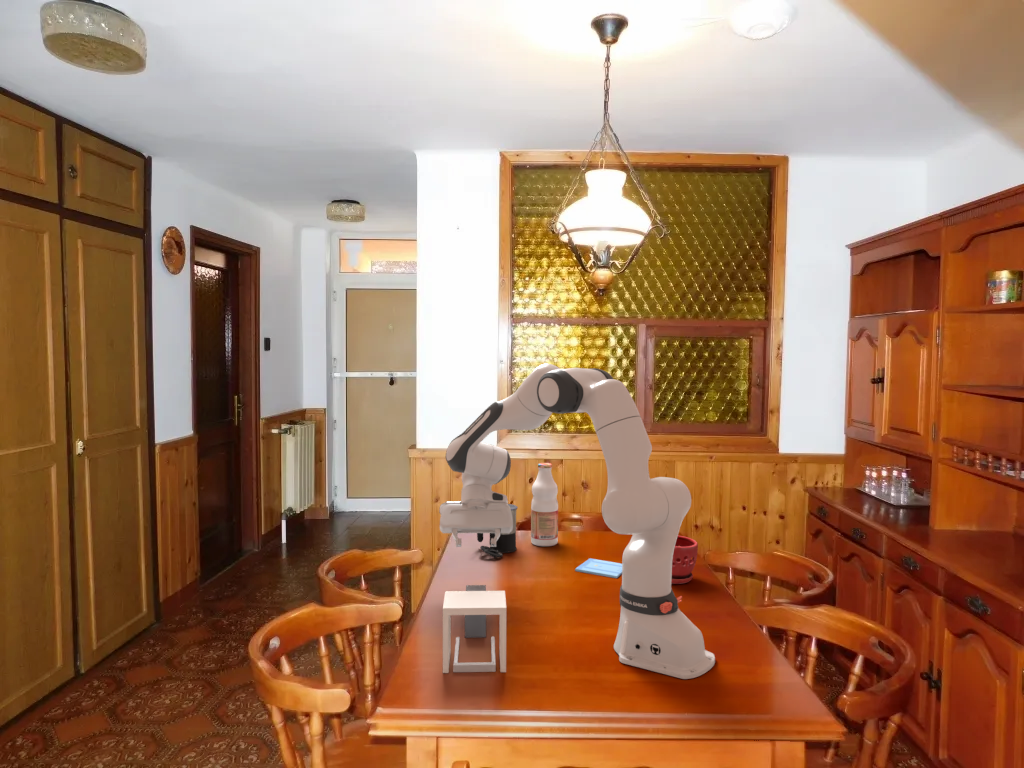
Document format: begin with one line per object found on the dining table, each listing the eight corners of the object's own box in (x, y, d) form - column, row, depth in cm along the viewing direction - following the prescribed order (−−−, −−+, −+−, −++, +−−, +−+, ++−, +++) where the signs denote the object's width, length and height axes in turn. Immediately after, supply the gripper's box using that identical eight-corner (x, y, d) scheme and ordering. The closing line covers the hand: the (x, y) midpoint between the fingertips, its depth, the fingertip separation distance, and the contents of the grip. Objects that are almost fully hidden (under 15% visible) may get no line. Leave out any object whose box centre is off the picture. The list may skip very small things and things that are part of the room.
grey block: (466, 615, 176) (466, 585, 175) (485, 615, 176) (485, 585, 175) (464, 637, 163) (464, 604, 162) (485, 637, 163) (486, 604, 162)
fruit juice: (525, 542, 241) (525, 463, 239) (543, 537, 247) (544, 460, 246) (545, 548, 234) (545, 467, 232) (563, 543, 240) (564, 464, 239)
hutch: (446, 640, 161) (446, 582, 160) (503, 639, 161) (504, 581, 161) (442, 673, 145) (442, 608, 144) (506, 672, 146) (506, 607, 145)
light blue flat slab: (629, 568, 215) (629, 564, 215) (616, 580, 205) (616, 575, 204) (589, 561, 222) (589, 558, 221) (575, 572, 211) (575, 568, 211)
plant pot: (666, 589, 196) (667, 547, 195) (643, 574, 208) (644, 535, 207) (705, 584, 200) (706, 543, 199) (680, 570, 212) (681, 532, 212)
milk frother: (513, 544, 239) (513, 502, 238) (526, 558, 223) (526, 513, 223) (473, 547, 235) (473, 504, 234) (483, 561, 220) (483, 516, 219)
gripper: (439, 495, 191) (437, 540, 182) (512, 495, 192) (513, 540, 183) (440, 507, 196) (438, 551, 187) (511, 507, 197) (512, 551, 188)
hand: (476, 545), depth 185 cm, fingers open, 8 cm apart
